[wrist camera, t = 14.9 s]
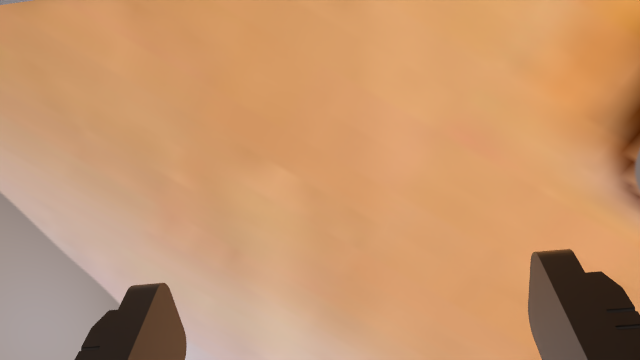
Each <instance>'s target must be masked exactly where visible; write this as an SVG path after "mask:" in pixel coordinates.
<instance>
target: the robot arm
mask: <svg viewBox="0 0 640 360" xmlns="http://www.w3.org/2000/svg"><path fill="white" fill-rule="evenodd" d="M528 314H529V322H530V327H531V331H532V334H533V337H534V340H535V342H536V345H537V348H538V350H539V353H540V355H541V358H542V360H640V315H639V313H638V312H637V311H635V307H634V305H633V304H632V302H631V300H630V299H629V297H628V296H627V294H626V293H625V291H624V289H623V288H622V287H621V286H620V285H618V284H617V283H616V282H614V281H613V280H612V279H610V278H609V277H608V276H606V275H605V274H604V273H602V272H589V273H585V272H584V270H583V268H582V266H581V265H580V263H579V261H578V259H577V258H576V256H575V254H574V253H573V251H572V250H570V249H566V250H554V251H542V252H534V253H533V254H532V256H531V266H530V282H529V299H528ZM185 356H186V335H185V331H184V328H183V325H182V322H181V320H180V317H179V314H178V311H177V308H176V306H175V303H174V300H173V297H172V294H171V292H170V289H169V287H168V286H167V284H165V283H157V284H145V285H134V286H131V287H130V288H129V289H128V290H127V292H126V294H125V296H124V298H123V301H122V303H121V305H120V307H119V309H118V310H110V311H108V312H107V313H106V314H105V315H104V316H103V317H102V318H101V319H100V320H99V321H98V322H97V323H96V324H95V325H94V326H93V327H92V328H91V330H90V332H89V334H88V336H87V337H86V339H85V341H84V343H83V345H82V348H81V351H79V353H78V355H77V356H76V358H75V360H185Z"/></svg>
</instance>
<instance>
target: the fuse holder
mask: <svg viewBox="0 0 640 360" xmlns="http://www.w3.org/2000/svg"><path fill="white" fill-rule="evenodd" d="M24 1H32V0H0V5H3V4H10V3H17V2H24Z"/></svg>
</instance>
